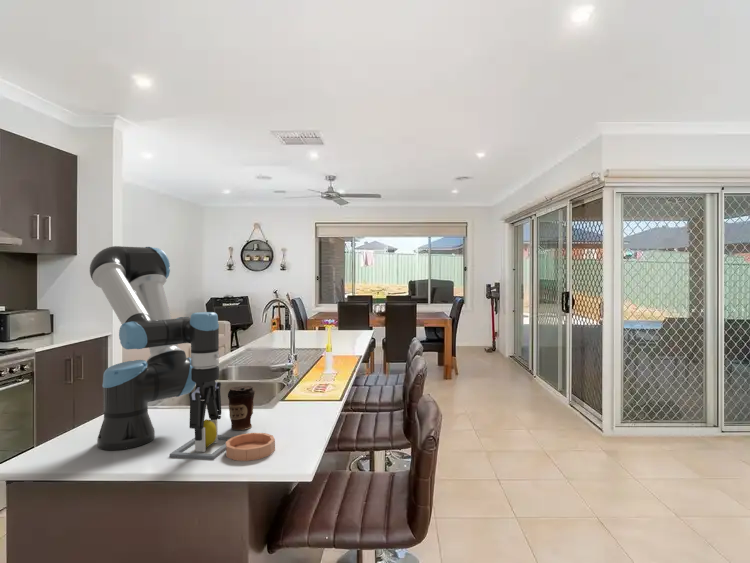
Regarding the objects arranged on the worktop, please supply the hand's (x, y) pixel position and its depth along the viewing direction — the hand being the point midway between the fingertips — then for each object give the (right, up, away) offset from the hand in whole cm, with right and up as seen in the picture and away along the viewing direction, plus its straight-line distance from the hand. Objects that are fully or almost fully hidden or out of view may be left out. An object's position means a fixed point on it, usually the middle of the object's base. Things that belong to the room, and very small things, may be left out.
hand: (206, 446), depth 134 cm
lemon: (0, -1, 0) cm, 1 cm away
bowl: (+14, 0, -4) cm, 14 cm away
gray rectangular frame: (0, 0, 0) cm, 0 cm away
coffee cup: (+5, 0, +17) cm, 18 cm away
